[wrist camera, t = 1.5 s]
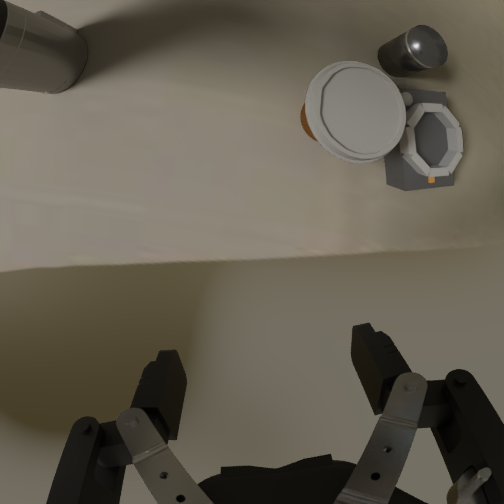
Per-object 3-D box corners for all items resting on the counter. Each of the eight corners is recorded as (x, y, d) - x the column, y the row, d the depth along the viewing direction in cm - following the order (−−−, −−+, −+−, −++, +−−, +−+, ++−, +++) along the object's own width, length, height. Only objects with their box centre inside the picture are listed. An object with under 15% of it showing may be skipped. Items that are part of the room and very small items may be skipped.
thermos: (373, 42, 29) (406, 21, 20) (405, 45, 28) (441, 28, 20) (381, 76, 30) (417, 63, 22) (413, 78, 30) (452, 68, 22)
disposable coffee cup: (315, 67, 30) (348, 37, 19) (375, 115, 32) (426, 109, 21) (271, 125, 33) (285, 116, 22) (333, 171, 35) (373, 186, 24)
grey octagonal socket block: (373, 94, 31) (399, 86, 25) (425, 95, 31) (456, 91, 24) (385, 184, 36) (411, 194, 29) (434, 179, 35) (464, 188, 29)
